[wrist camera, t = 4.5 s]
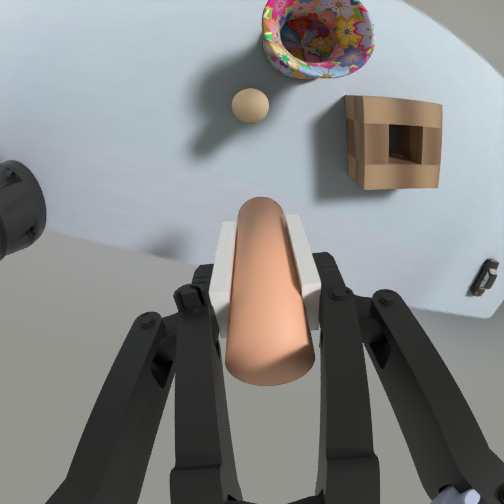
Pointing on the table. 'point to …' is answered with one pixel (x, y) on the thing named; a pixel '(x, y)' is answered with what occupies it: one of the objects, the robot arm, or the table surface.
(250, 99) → the medium pin
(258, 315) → the long pin
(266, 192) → the table surface
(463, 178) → the table surface
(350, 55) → the mug
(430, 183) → the block
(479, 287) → the toy car
